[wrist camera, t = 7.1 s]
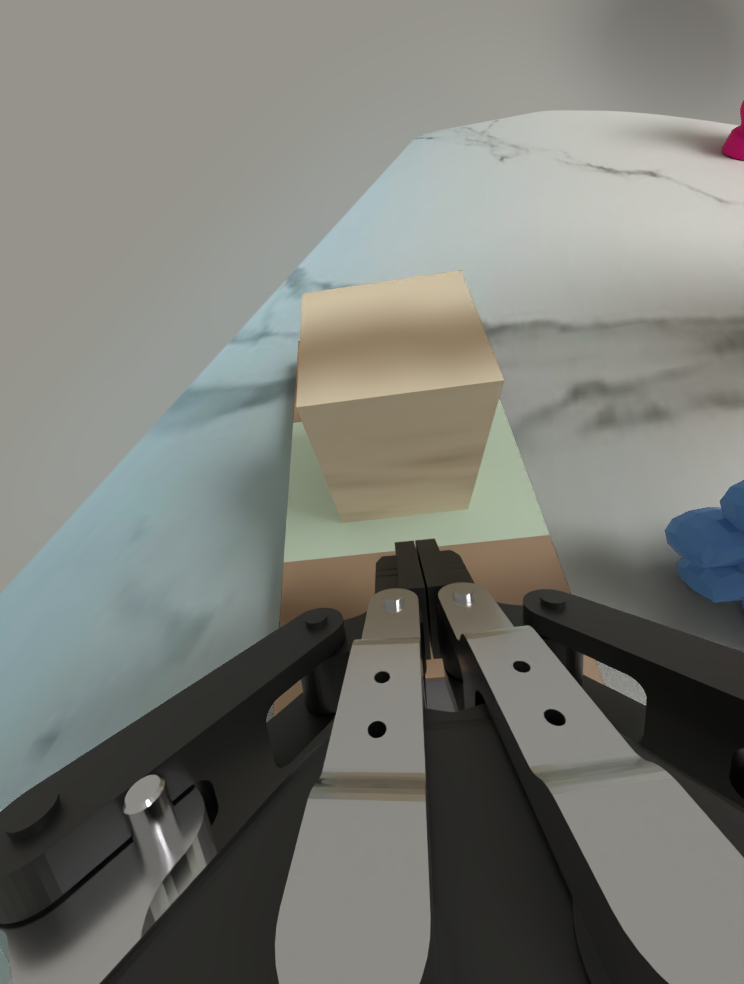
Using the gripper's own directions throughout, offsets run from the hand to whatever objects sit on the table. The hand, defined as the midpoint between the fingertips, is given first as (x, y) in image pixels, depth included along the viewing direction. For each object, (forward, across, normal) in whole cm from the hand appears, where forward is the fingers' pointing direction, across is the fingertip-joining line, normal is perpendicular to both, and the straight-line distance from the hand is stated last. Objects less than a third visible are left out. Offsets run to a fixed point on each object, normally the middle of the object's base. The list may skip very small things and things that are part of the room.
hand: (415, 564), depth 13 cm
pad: (+10, 0, 0) cm, 11 cm away
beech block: (+9, 0, -2) cm, 9 cm away
